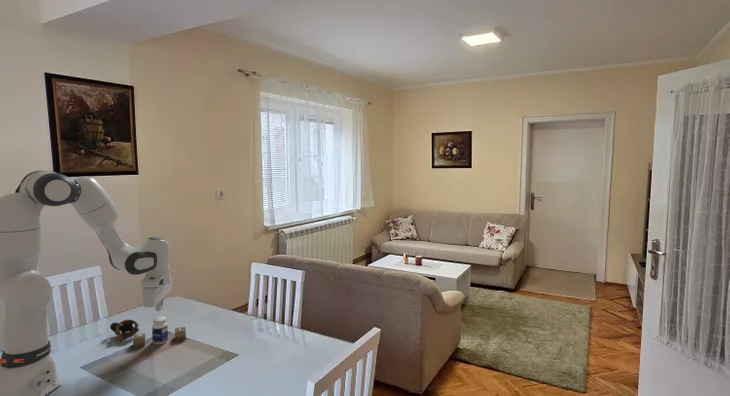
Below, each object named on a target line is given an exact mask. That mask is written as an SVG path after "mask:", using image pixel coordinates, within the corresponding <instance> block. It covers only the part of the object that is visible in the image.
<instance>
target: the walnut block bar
mask: <svg viewBox="0 0 730 396" xmlns="http://www.w3.org/2000/svg"><path fill="white" fill-rule="evenodd" d="M186 331H187V330H186V326H181V327H175V328H174V339H175V340H174V342H178V341H185V340H186V339H187V338H186V337H187V332H186Z"/></svg>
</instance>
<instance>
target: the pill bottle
mask: <svg viewBox="0 0 730 396" xmlns="http://www.w3.org/2000/svg"><path fill="white" fill-rule="evenodd" d="M152 321H153V323H152V325H151V333H152V334H151V335H152V336H151V337H152V343H153V344H154V345H162V344H165V343H166V342H168V340H169V333H168V332H169V330H168V329H169V328H168V327H169V326H168V322H166V321H167V316H163V315H162V316H161V315H160V316H156V317H154V318H153V320H152Z"/></svg>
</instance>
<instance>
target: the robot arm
mask: <svg viewBox="0 0 730 396" xmlns="http://www.w3.org/2000/svg"><path fill="white" fill-rule="evenodd" d="M68 204H70V205H71V206H72V207H73V208H74V210H75V211H76V213H77V214H78V215H79V216H80V218H81V219H82V220H83V222H84V223H85V224H86V225H87V226H88V227H89V228H90V229H92V231H93V232H94V233H95V234H96V235H97V237H98V238H99V240H100V242H101V243H102V245H104V247H105V250H106V252H107V254H108V260H109V263H110V265H111V267H113V268H114V269H116V270H118V271H122V272H124V273H128V274H129V275H135V276H136V275H142V274H144V273H145V274H144V275H145V276H144V277H143V279H142V281H141V284H140V286H141V288H143V289H142V304H143V306H144V307H145V308H154V307H155V312H160V311H161V310H163V308H164V301H165V297H167V296H168V295H169V294H170V293H171V292H172V291H173V279H172V276H171V275H172V274H171V265H170V260H171V250H170V244H169V241H168V240H167V239H165V238H163V237H152V236H151V237H147V239H146V240H145V241H144V242H142V243H141V244H139V245H138V246H136V247H133V246H132V245H130V244H128V243H127V242H125V240H124V239H123V238H122V236H121V234H120V233H119V232H118V229H117V228H116V226H115V224H116V222H117V220H118V218H119V211H118V209H117V206H116V204H115V202H114V201H113V200H112V197H111V196H110V195H109V193H108V192H107V191H106V190H105V188H104V187H103V186H102V185H101V184H100V183H99V182H98V181H97V180H96V179H95V178H93V177H91V176H88V175H87V176H86V175H85V176H78V177H75V178H71V177H68V175H65V174H63V173H58V172H55V171H52V170H35V171H31V172H29V173H28V174H26V175H25V176H24V177H23V178H22V180H21V181H20V183H19V184H18V186H17V188H16V189H15V191H14V193H9V194H8V193H7V194H5V195H2V196H1V197H0V299H1V300H2V301H3V302H4V307H5V315H4V320H3V321H4V322H3V325H2V326H1V327H2V330H1V331H2V339H3V340H2V342H3V350H2V352H1V356H0V396H44V395H46V394H47V393H49V392H50V391H52V390H53V389H55V388H56V387H58V386H60V385H61V386H62V382H61V380H59V379H58V374H57V369H56V364H55V361H54V359H53V358H52V356H51V352H52V345H51V341H50V339H49V329H48V327H49V325H48V318H49V317H48V315H49V310H50V304H51V303H50V302H51V300H52V298H53V293H54V292H53V288H52V285H51V284H50V281H49V280H48V279H47V278H45V277H44V276H42V275H40V274H41V273H40V271H39V270H40V269H39V267H40V261H41V260H40V258H41V255H42V252H43V241H42V227H41V226H42V225H41V219H40V217H41V213H42V210H43V209H44V207H45V206H48V207H60V206H64V205H68ZM61 386H60V387H61ZM58 388H59V387H58ZM55 390H56V389H55ZM52 392H53V391H52ZM49 394H50V393H49ZM46 396H47V395H46Z"/></svg>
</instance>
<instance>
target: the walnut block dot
mask: <svg viewBox="0 0 730 396" xmlns="http://www.w3.org/2000/svg"><path fill="white" fill-rule="evenodd" d="M144 347H146V333H145V332H144V333H136V334H135V335H133V336H132V348H133V349H138V348H144Z"/></svg>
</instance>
